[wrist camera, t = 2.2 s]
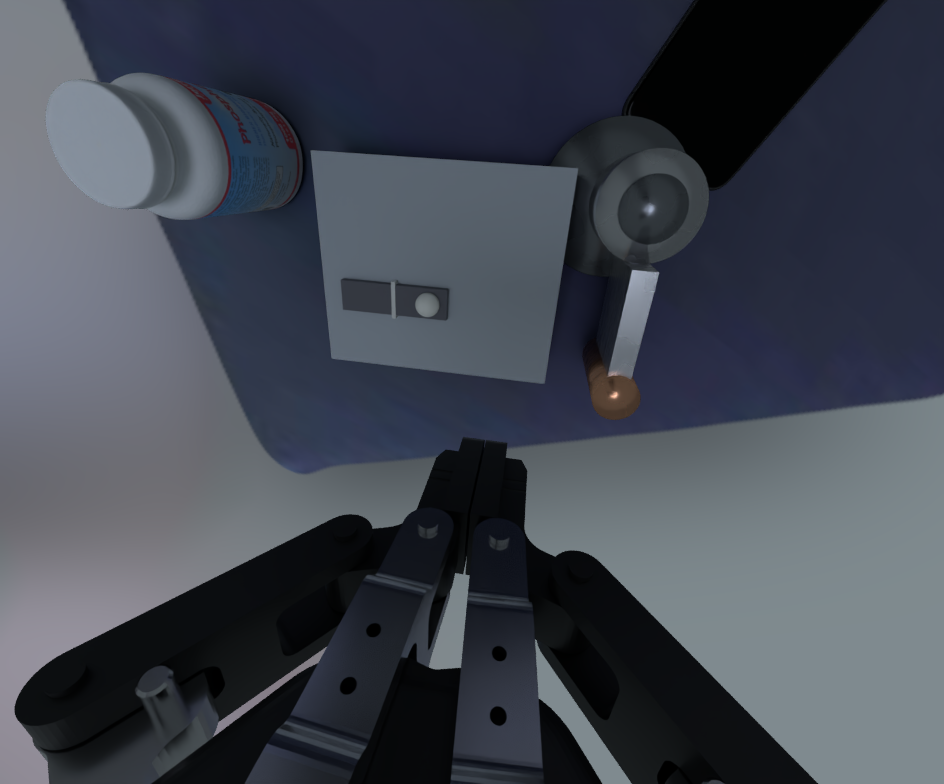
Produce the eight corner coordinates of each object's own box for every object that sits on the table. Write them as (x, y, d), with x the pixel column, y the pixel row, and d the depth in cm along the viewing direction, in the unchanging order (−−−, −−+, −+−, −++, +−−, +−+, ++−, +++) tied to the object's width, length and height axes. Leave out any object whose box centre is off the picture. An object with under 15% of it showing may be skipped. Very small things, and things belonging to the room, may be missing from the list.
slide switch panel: (343, 153, 26) (297, 148, 21) (572, 168, 25) (580, 168, 20) (356, 336, 32) (321, 367, 27) (544, 358, 30) (544, 394, 25)
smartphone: (711, 198, 25) (994, -130, 18) (716, 199, 24) (1014, -142, 17) (611, 118, 24) (871, -262, 17) (614, 117, 23) (886, -282, 16)
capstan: (550, 115, 24) (552, 92, 17) (700, 124, 23) (770, 102, 16) (520, 353, 30) (514, 407, 23) (636, 366, 29) (665, 426, 22)
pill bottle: (316, 126, 26) (175, 98, 16) (296, 224, 29) (166, 252, 19) (222, 80, 25) (18, 21, 16) (211, 184, 28) (33, 190, 18)
